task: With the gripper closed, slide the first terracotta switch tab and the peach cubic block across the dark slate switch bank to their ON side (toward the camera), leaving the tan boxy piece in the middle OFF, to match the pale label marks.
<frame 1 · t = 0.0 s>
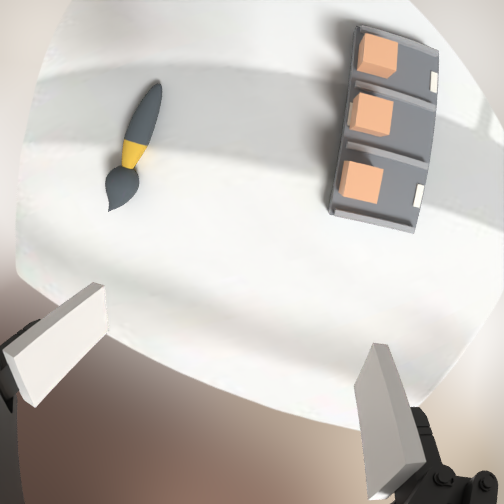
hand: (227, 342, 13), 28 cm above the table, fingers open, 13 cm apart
switch bank: (387, 126, 33), on the table
peach cubic block: (360, 181, 32), point 4 cm above the table, slide at 0.0 cm
paintbrush: (138, 148, 39), on the table
tan boxy piece: (370, 115, 29), point 4 cm above the table, slide at 0.0 cm
tab a: (377, 56, 27), point 4 cm above the table, slide at 0.0 cm
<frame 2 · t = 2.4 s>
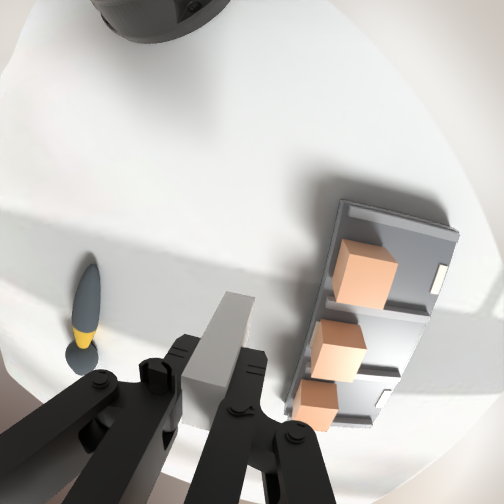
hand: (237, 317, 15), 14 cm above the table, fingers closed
switch bank: (363, 331, 29), on the table
peach cubic block: (314, 405, 28), point 4 cm above the table, slide at 0.0 cm
paintbrush: (90, 319, 36), on the table
tan boxy piece: (336, 350, 26), point 4 cm above the table, slide at 0.0 cm
tab a: (362, 273, 23), point 4 cm above the table, slide at 0.0 cm
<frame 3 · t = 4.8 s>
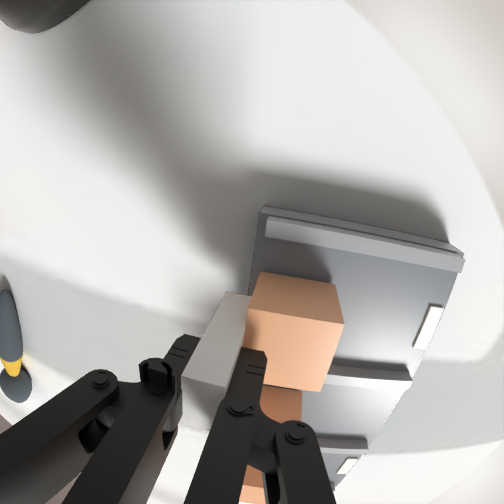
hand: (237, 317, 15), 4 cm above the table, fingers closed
switch bank: (315, 390, 21), on the table
peach cubic block: (249, 475, 19), point 4 cm above the table, slide at 0.0 cm
paintbrush: (19, 346, 27), on the table
tan boxy piece: (264, 426, 17), point 4 cm above the table, slide at 0.0 cm
tab a: (289, 330, 14), point 4 cm above the table, slide at 0.0 cm, touching gripper
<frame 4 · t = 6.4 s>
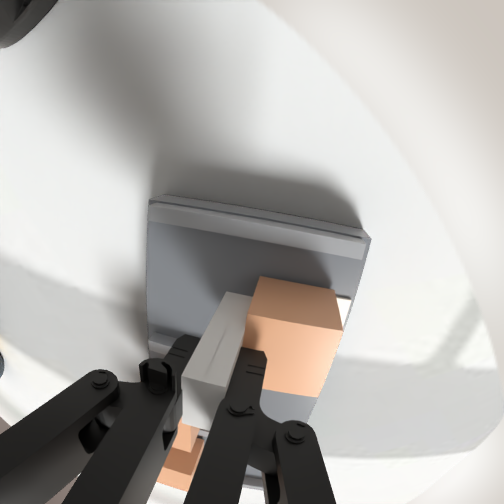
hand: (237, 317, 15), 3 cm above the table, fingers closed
switch bank: (234, 380, 21), on the table
peach cubic block: (175, 460, 20), point 4 cm above the table, slide at 0.0 cm
tan boxy piece: (171, 407, 17), point 4 cm above the table, slide at 0.0 cm
tab a: (288, 335, 14), point 4 cm above the table, slide at 6.2 cm, touching gripper
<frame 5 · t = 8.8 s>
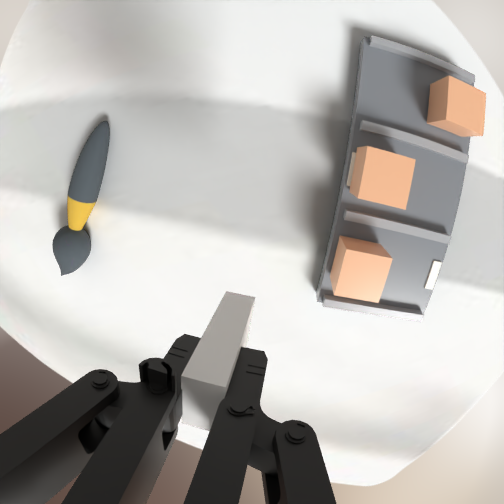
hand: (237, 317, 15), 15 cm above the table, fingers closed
switch bank: (401, 181, 25), on the table
peach cubic block: (359, 268, 24), point 4 cm above the table, slide at 0.0 cm
paintbrush: (89, 200, 32), on the table
tan boxy piece: (380, 176, 22), point 4 cm above the table, slide at 0.0 cm
tab a: (456, 108, 18), point 4 cm above the table, slide at 6.2 cm
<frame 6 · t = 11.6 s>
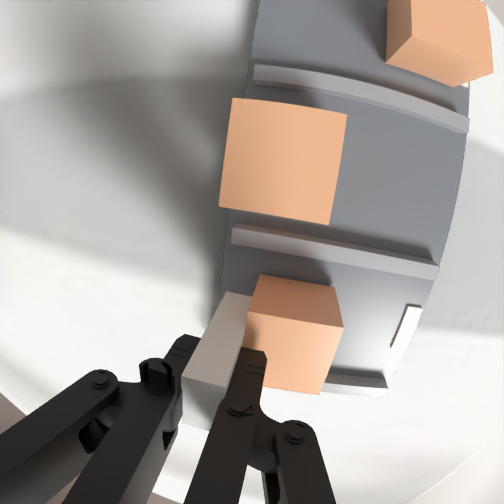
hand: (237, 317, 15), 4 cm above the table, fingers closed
switch bank: (349, 170, 15), on the table
peach cubic block: (289, 333, 14), point 4 cm above the table, slide at 1.6 cm, touching gripper
tan boxy piece: (284, 159, 12), point 4 cm above the table, slide at 0.0 cm
tab a: (436, 30, 8), point 4 cm above the table, slide at 6.2 cm
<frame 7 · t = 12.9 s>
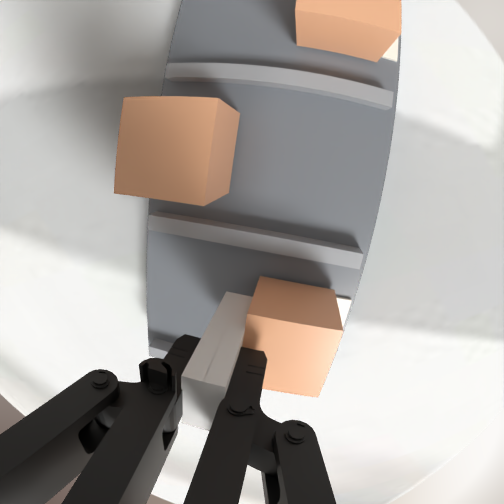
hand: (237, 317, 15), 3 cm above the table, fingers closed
switch bank: (269, 157, 16), on the table
peach cubic block: (288, 335, 14), point 4 cm above the table, slide at 6.2 cm, touching gripper
tan boxy piece: (180, 147, 12), point 4 cm above the table, slide at 0.0 cm
tab a: (345, 3, 9), point 4 cm above the table, slide at 6.2 cm
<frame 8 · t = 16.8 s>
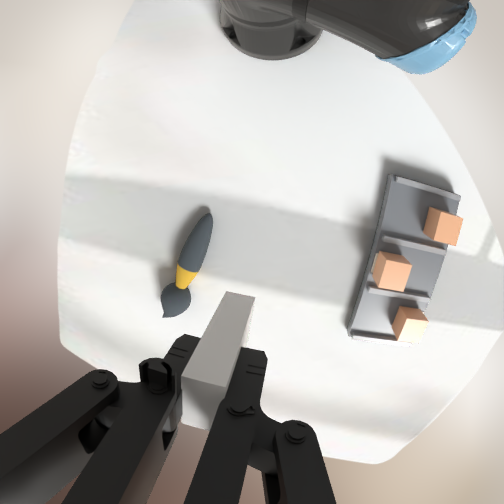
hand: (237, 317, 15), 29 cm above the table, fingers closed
switch bank: (403, 264, 42), on the table
peach cubic block: (409, 324, 40), point 4 cm above the table, slide at 6.2 cm
paintbrush: (188, 265, 48), on the table
tan boxy piece: (391, 270, 38), point 4 cm above the table, slide at 0.0 cm
tab a: (442, 225, 35), point 4 cm above the table, slide at 6.2 cm
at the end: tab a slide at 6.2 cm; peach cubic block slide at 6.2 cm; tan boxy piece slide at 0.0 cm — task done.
